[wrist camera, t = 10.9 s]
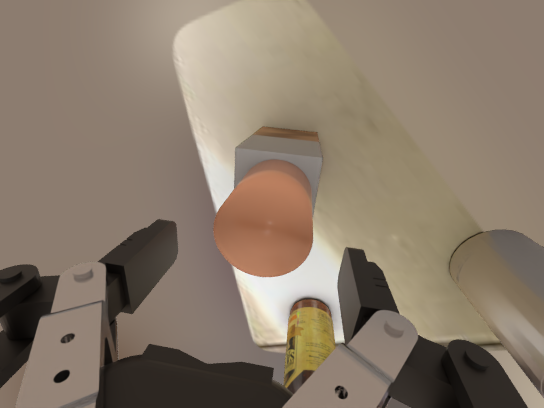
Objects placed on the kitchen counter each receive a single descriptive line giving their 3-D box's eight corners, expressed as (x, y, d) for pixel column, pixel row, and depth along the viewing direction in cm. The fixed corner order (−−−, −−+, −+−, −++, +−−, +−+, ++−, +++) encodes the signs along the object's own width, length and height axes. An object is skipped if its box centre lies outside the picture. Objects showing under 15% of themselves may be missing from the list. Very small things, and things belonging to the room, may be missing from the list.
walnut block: (317, 132, 28) (319, 142, 23) (309, 184, 31) (309, 204, 25) (262, 126, 29) (252, 134, 23) (259, 178, 31) (248, 196, 26)
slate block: (319, 142, 23) (322, 157, 17) (309, 204, 25) (309, 235, 20) (252, 134, 23) (235, 147, 18) (249, 196, 26) (233, 224, 20)
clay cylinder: (316, 163, 18) (320, 196, 12) (306, 230, 20) (305, 283, 14) (241, 155, 18) (212, 182, 13) (239, 221, 20) (213, 269, 15)
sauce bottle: (287, 296, 38) (267, 483, 20) (331, 296, 37) (352, 493, 19) (291, 329, 40) (277, 522, 22) (332, 330, 39) (352, 533, 21)
